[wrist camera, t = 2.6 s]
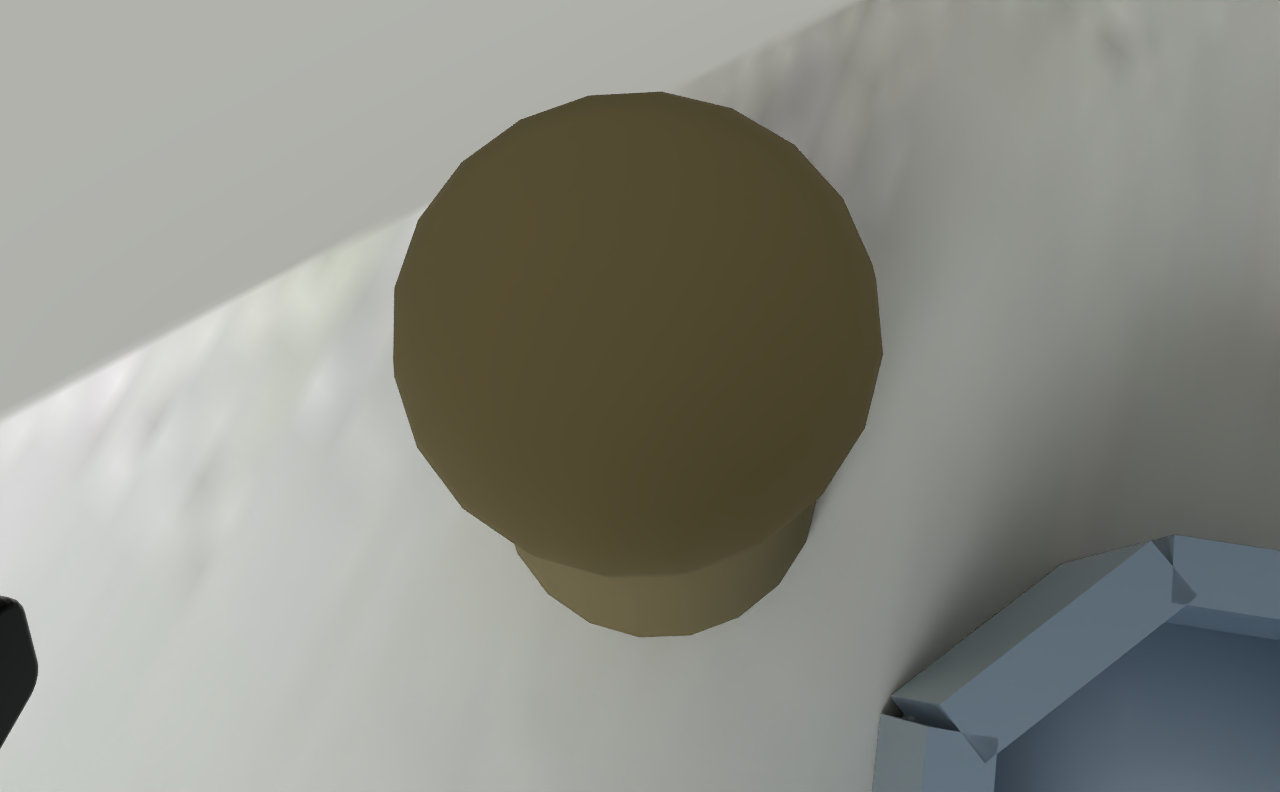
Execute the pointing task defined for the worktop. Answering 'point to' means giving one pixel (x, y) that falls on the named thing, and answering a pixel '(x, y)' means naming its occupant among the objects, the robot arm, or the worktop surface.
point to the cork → (639, 352)
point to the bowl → (1106, 682)
